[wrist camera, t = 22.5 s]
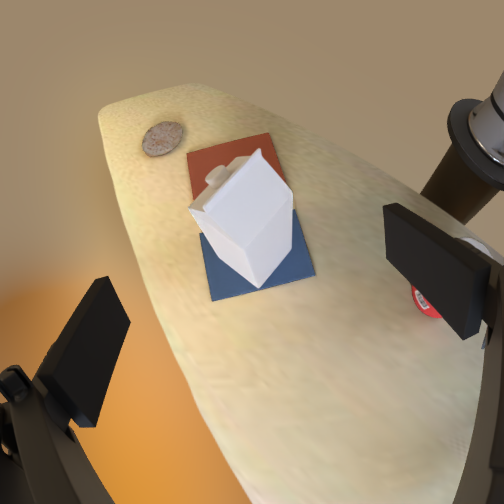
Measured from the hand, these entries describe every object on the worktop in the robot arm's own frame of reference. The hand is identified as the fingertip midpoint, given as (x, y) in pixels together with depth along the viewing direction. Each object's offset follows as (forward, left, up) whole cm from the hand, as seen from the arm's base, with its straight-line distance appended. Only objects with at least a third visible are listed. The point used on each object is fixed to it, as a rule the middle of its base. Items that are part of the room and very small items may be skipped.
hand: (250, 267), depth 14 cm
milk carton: (0, -11, -27) cm, 29 cm away
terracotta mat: (0, -25, -28) cm, 37 cm away
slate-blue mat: (0, -11, -28) cm, 30 cm away
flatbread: (+11, -36, -28) cm, 46 cm away
